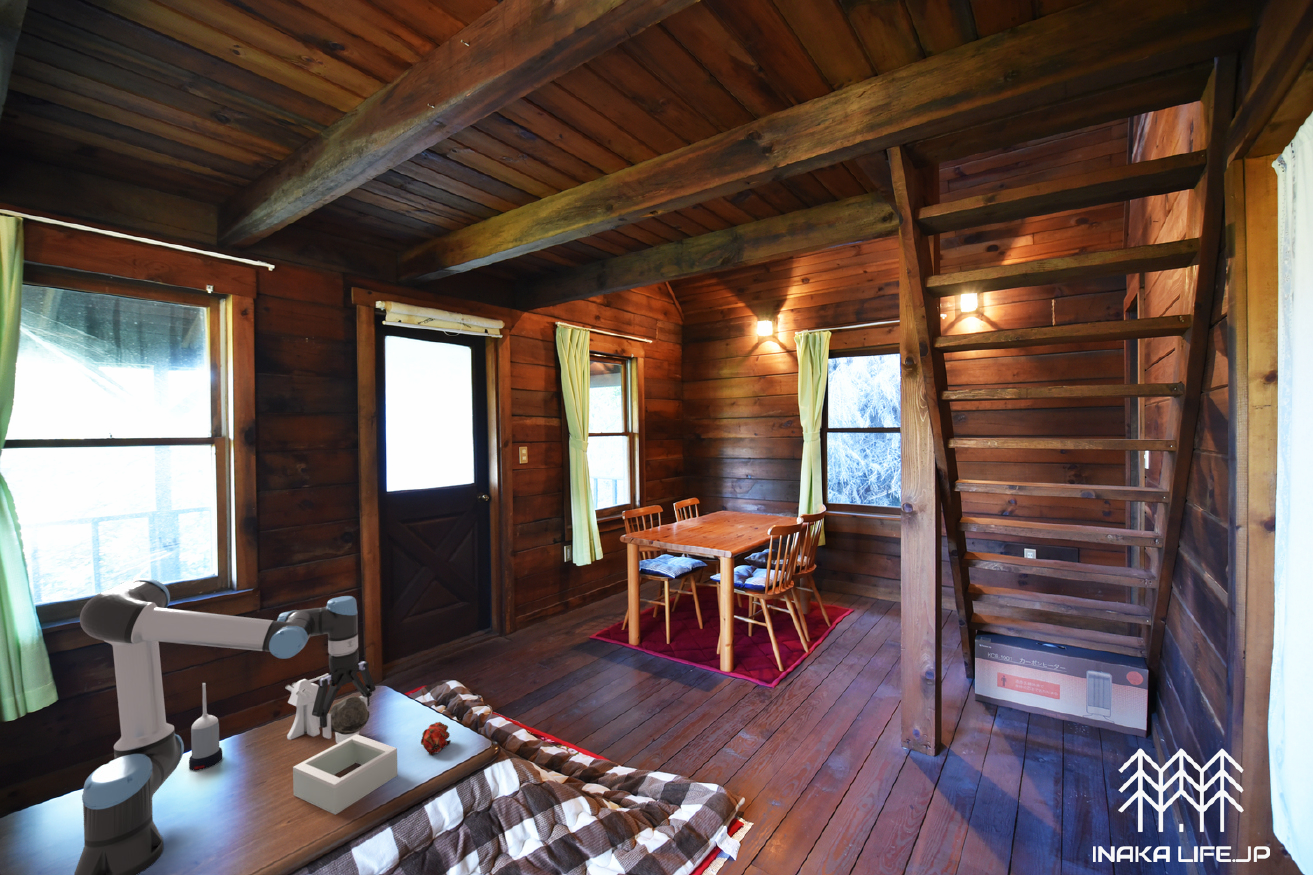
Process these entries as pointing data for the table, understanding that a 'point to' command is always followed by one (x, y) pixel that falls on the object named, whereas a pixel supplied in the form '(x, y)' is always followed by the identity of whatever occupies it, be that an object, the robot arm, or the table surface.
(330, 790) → the box
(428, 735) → the dragon fruit
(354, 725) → the fossil
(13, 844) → the table surface
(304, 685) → the toy gun turret
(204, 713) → the humidifier
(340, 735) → the white cup
